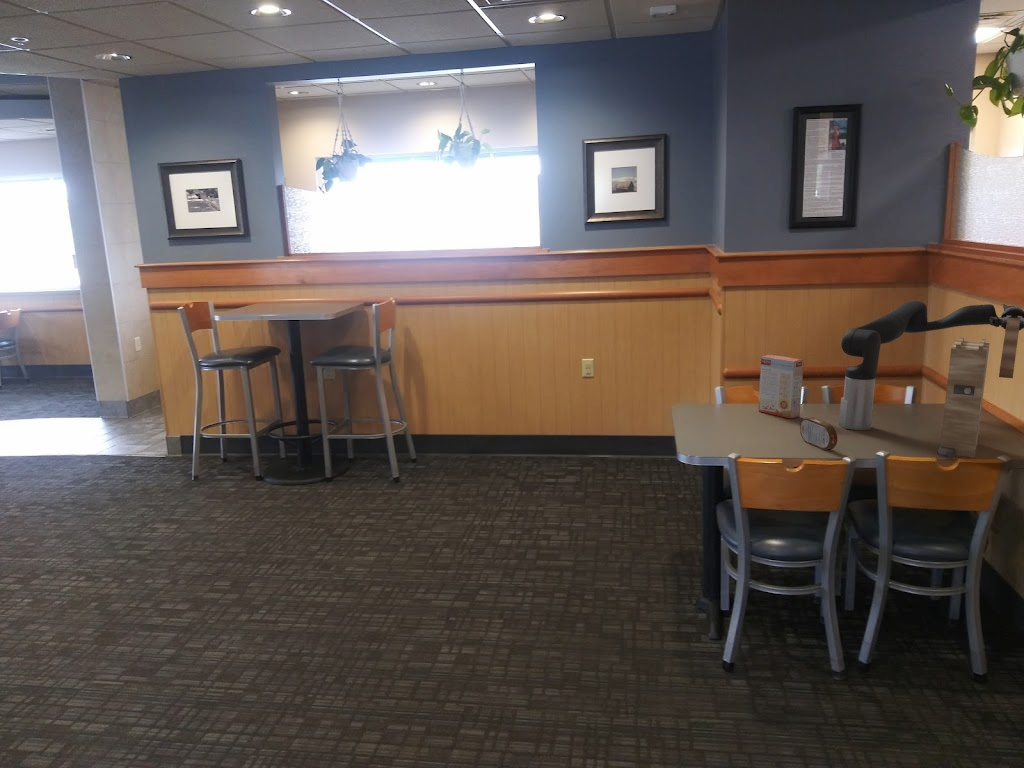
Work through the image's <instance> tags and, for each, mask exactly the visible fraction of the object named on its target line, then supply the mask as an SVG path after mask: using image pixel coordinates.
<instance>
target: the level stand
mask: <svg viewBox="0 0 1024 768" xmlns="http://www.w3.org/2000/svg"><path fill="white" fill-rule="evenodd" d="M989 351H990V342H986V338H981V339H980V342H979V341H966V340H965V337H964V336H960V337H959V339H958V340H954V343H953V344H952V346H951V348H950V356H949V364H948V366H949V367H948V373H947V383H946V390H945V391H946V392H945V393H946V394H945V398H944V399H945V400H944V408H943V409H944V410H943V416H942V417H943V418H942V425H941V426H942V427H941V435H940V436H941V437H940V445H939V446H938V451H937V454H938V455H939V456H942V457H946V458H952V457H955V456H958V457H959V456H960V457H966V456H967V458H973V457H975V455H976V451H977V447H976V446H978V440H979V432H980V423H981V417H982V406H983V399H984V393H985V392H984V390H985V382H986V375H987V366H988V358H989ZM975 450H976V451H975ZM968 456H969V457H968Z"/></svg>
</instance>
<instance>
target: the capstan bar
mask: <svg viewBox="0 0 1024 768" xmlns="http://www.w3.org/2000/svg"><path fill="white" fill-rule="evenodd" d="M1019 324H1020V318H1007V324H1006V330H1005V329H1004V338H1003V344H1002V351H1001V356H1000V357H1001V358H1000V359H1001V360H1000V364H999V365H1000V366H999V373H998V378H1005V379H1013V377H1014V373H1015V372H1014V370H1015V366H1016V365H1015V364H1016V355H1017V347H1018V341H1019V334H1020V333H1019V332H1020V331H1019V326H1020V325H1019Z"/></svg>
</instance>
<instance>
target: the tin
mask: <svg viewBox="0 0 1024 768" xmlns="http://www.w3.org/2000/svg"><path fill="white" fill-rule="evenodd" d="M799 431H800V432H799V433H800V435H801V438H802V439H803V441H804V442H805V443H807V444H808V445H810V446H811V445H812V446H814V447H816V448H818V449H821V450H823V451H826V450H833V449H835V448H836V446H837V444H838V433H837V430H836V428H835V427H834V425H833V424H832V423H830V422H829V421H825V420H822V419H819V418H817V417H815V416H809V417H805V418H803V419H802V420H801V421H800V427H799Z"/></svg>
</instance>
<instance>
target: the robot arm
mask: <svg viewBox="0 0 1024 768" xmlns="http://www.w3.org/2000/svg"><path fill="white" fill-rule="evenodd" d="M1003 308H1004V312H1003V311H1002V313H1001V316H1000V317H999V316H998V315H997V313H996V308H995V306H994V305H993V304H991V303H990V304H973V305H972V304H971V305H964V306H963V307H960V308H958V309H956V310H955V311H953V312H951V313H949V314H947V315H946V316H944V317H942V318H940V319H937V320H933V321H928V308H927V305H926V303H924V301H920V300H911V301H907V302H904V303H902V304H900V305H899V306H897V307H896V308H894V309H893V310H892V311H890V312H888V313H886V314H885V315H882V316H879V317H878V318H876V319H875V320H872V321H870V322H869V323H866V324H864V325H861V326H856V327H853V328H851V329H849V330H847V332H845V334H844V335H843V336H842V339H841V341H840V342H841V349H842V352H843V353H844V354H846V355H847V356H851V357H855V358H862V362H861V363H859V364H857V365H851V366H847V368H845V369H846V370H845V373H844V374H845V376H844V387H843V396H842V397H841V398H840V409H839V421H838V425H840V426H841V427H842V428H843V429H845V430H855V431H867V430H870V429H872V418H873V407H874V399H875V397H874V396H875V386H876V385H875V384H876V374H877V370H878V365H879V359H880V358H879V357H880V353H881V352H880V351H881V345H883V344H888V343H891V342H893V341H895V340H897V339H899V338H900V337H901V336H903V334H904V333H906V334H907V333H909V334H910V333H911V334H915V333H923V332H931V331H937V330H945V329H950V328H956V327H957V328H958V327H966V326H980V325H981V326H982V325H990V326H993V327H995V328H998V327H1001V328H1002V329H1004V331H1005V330H1006V324H1007V318H1020V324H1019V325H1020V326H1019V332H1020V331H1021V330H1024V311H1023V310H1022V309H1021V308H1019V307H1015V306H1007V305H1005V304H1003V303H1002V309H1003Z"/></svg>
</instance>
